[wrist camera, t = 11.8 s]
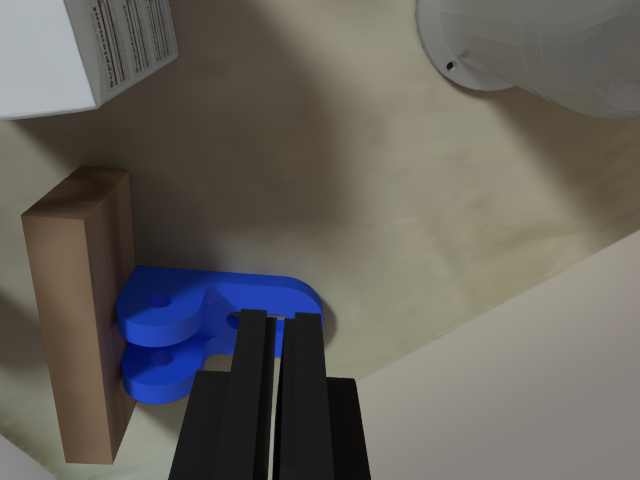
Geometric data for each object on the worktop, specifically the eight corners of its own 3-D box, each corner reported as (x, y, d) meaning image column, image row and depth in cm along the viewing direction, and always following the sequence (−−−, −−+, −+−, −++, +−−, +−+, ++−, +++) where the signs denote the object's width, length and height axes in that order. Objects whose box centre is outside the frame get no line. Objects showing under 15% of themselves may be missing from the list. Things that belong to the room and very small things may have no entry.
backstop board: (129, 170, 41) (83, 220, 33) (143, 383, 52) (112, 464, 43) (80, 166, 41) (20, 215, 32) (105, 381, 52) (65, 462, 43)
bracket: (141, 335, 50) (111, 402, 42) (136, 265, 46) (103, 323, 38) (317, 345, 51) (321, 411, 43) (326, 278, 47) (333, 336, 39)
